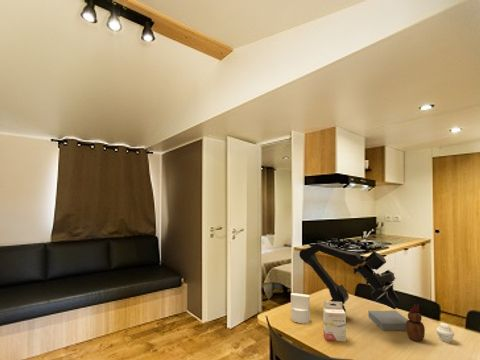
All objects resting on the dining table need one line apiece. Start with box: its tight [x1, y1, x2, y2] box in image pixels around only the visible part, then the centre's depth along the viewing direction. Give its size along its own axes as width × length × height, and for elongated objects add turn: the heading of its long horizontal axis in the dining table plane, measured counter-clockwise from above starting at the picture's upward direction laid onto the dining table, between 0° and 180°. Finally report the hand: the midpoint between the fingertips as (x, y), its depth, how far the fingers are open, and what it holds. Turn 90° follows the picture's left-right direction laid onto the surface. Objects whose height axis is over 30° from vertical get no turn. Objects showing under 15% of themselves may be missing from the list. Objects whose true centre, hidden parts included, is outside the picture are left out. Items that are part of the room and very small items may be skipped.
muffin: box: [436, 322, 455, 343], centre depth 117 cm, size 6×6×7 cm
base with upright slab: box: [290, 292, 311, 324], centre depth 137 cm, size 9×9×12 cm
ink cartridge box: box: [322, 300, 347, 342], centre depth 119 cm, size 9×5×15 cm, turn 84°
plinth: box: [367, 310, 409, 331], centre depth 133 cm, size 14×14×3 cm
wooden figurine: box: [405, 303, 426, 342], centre depth 118 cm, size 7×6×15 cm
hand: (397, 305), depth 122 cm, fingers open, 9 cm apart
